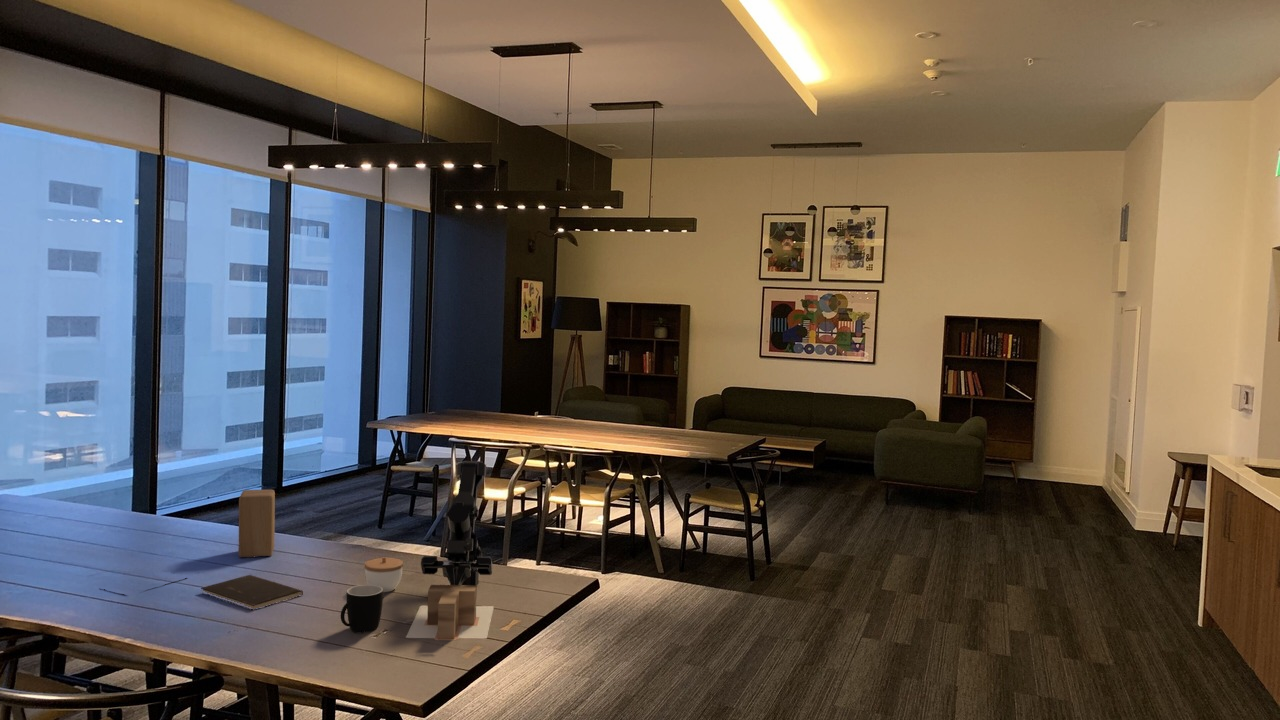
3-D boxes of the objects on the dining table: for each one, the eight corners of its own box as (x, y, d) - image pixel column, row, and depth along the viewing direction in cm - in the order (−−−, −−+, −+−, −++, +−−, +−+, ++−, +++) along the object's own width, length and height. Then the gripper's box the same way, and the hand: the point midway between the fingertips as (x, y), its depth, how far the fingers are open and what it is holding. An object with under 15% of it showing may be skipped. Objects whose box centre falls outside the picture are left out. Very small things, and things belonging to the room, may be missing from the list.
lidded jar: (356, 590, 268) (356, 558, 267) (382, 581, 277) (383, 550, 276) (384, 597, 263) (384, 565, 262) (410, 587, 272) (411, 556, 271)
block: (241, 550, 303) (242, 489, 302) (274, 548, 306) (275, 488, 305) (238, 558, 294) (238, 496, 293) (272, 557, 297) (272, 495, 296)
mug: (365, 620, 244) (365, 582, 244) (389, 627, 240) (390, 589, 239) (328, 633, 234) (329, 594, 233) (353, 641, 229) (354, 601, 229)
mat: (486, 641, 233) (486, 640, 233) (404, 640, 231) (404, 639, 231) (494, 607, 258) (494, 606, 258) (420, 606, 256) (420, 605, 256)
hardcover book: (253, 613, 248) (253, 604, 248) (201, 595, 260) (201, 587, 260) (303, 597, 262) (303, 589, 261) (251, 581, 274) (251, 574, 274)
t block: (469, 639, 233) (470, 604, 232) (421, 638, 232) (422, 603, 231) (475, 618, 248) (476, 585, 247) (430, 617, 247) (430, 584, 246)
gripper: (422, 526, 251) (415, 579, 240) (492, 527, 252) (488, 579, 242) (426, 547, 259) (419, 599, 249) (494, 548, 260) (489, 599, 250)
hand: (453, 594), depth 247 cm, fingers closed, pressing on t block
